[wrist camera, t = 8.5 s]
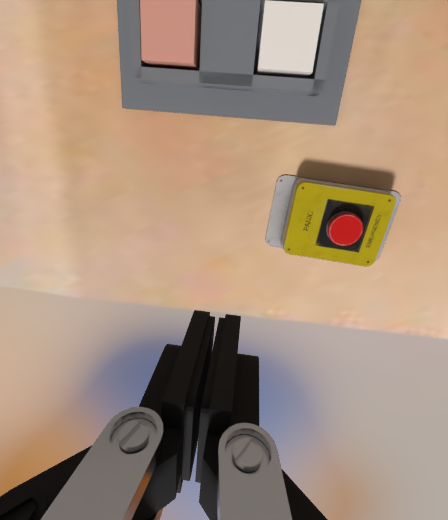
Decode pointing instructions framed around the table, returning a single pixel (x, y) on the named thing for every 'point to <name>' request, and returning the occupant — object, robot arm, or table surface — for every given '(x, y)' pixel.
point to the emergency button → (330, 220)
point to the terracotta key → (171, 33)
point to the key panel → (239, 66)
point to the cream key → (289, 38)
